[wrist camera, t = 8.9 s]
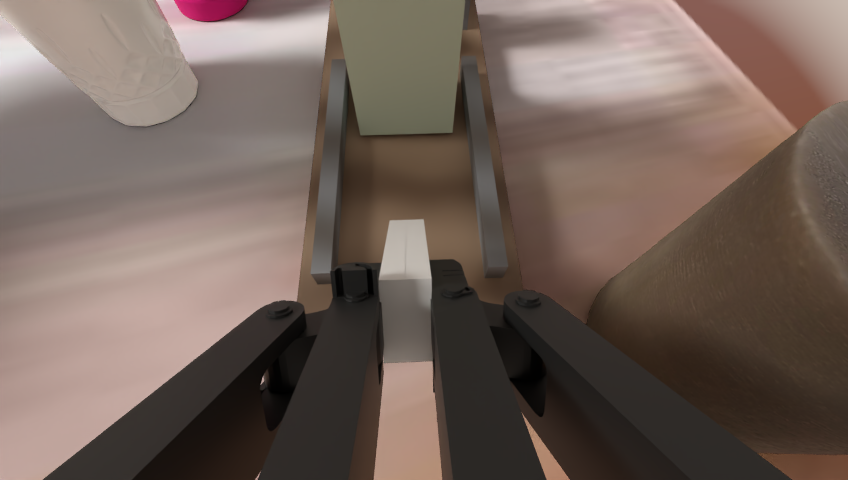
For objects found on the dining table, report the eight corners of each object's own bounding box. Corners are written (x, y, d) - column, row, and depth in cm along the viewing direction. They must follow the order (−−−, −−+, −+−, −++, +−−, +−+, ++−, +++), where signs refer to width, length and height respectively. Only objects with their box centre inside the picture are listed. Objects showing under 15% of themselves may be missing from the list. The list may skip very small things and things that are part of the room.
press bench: (518, 323, 22) (583, 242, 13) (305, 331, 22) (224, 255, 13) (470, 14, 35) (487, -131, 26) (336, 17, 35) (306, -129, 26)
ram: (460, 132, 26) (486, -89, 15) (352, 135, 25) (302, -87, 15) (454, 79, 28) (473, -146, 17) (355, 81, 28) (314, -144, 17)
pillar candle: (597, 444, 19) (1001, 454, 6) (575, 263, 24) (779, 38, 10) (796, 458, 19) (1666, 501, 6) (736, 274, 24) (1153, 59, 10)
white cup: (141, 53, 33) (35, -94, 24) (225, 71, 31) (148, -74, 23) (77, 120, 29) (-76, -22, 20) (169, 144, 28) (52, 6, 19)
